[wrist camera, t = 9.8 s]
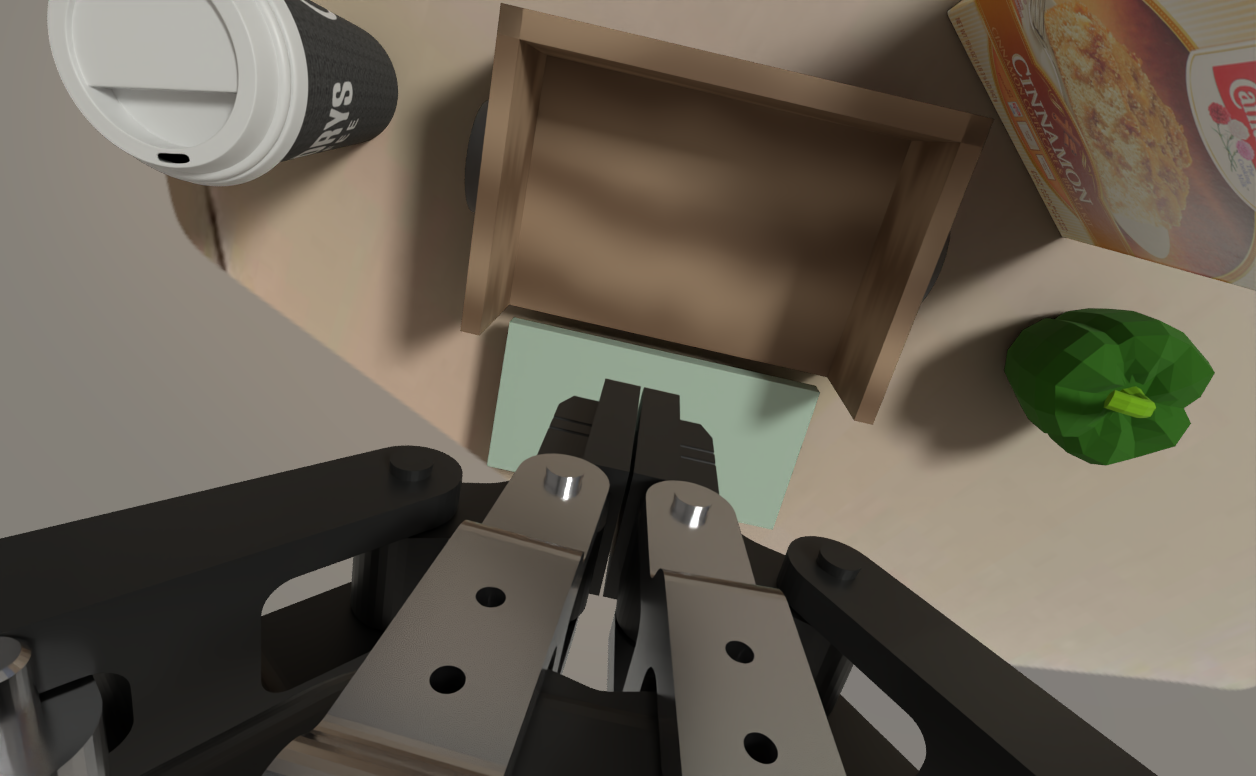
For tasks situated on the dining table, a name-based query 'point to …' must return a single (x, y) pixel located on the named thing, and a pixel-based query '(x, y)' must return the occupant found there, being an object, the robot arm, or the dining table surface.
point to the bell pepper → (1107, 382)
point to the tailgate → (709, 392)
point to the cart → (709, 200)
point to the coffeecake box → (1131, 120)
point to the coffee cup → (221, 81)
